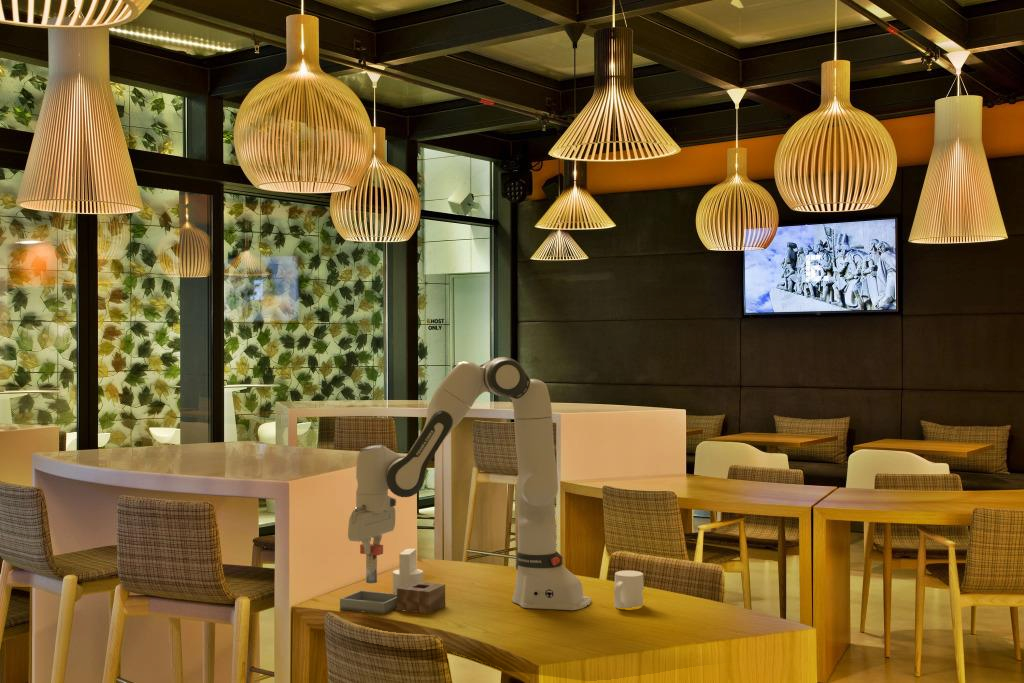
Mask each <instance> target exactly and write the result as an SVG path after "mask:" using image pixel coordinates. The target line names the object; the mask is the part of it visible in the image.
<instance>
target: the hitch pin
mask: <svg viewBox="0 0 1024 683" xmlns="http://www.w3.org/2000/svg"><path fill="white" fill-rule="evenodd" d="M370 545H371V547H372V553H370V554H365V553H364V546H363V544H362V543H360V546H359V549H360V550H359V551H360V554H362V555H366V556H365V559H366V560H365V561H366V562H365V563H366V564H365V565H366V566H365V567H366V568H365V582H366V584H377V582H378V556H381V555H383V554H384V545H383V544H380V545H379V544H373V543H370Z"/></svg>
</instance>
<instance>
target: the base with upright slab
mask: <svg viewBox="0 0 1024 683" xmlns="http://www.w3.org/2000/svg"><path fill="white" fill-rule="evenodd" d="M398 555H399V557H398V559H399V563H398V565H399V566H398V569H395V570H392V593H393V592H394V593H396V594H397V588H399V587H402V586H404V585H406V584H409V583H411V582H413V581H417V582H424V570H422V569H420V568H417V548H405V549H404V550H403V551H402V552H400V553H399V554H398ZM394 593H393V594H394Z"/></svg>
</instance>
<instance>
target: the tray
mask: <svg viewBox="0 0 1024 683" xmlns="http://www.w3.org/2000/svg"><path fill="white" fill-rule="evenodd" d="M396 608H397V594H394V593H389V592H381V591H373V590H372V591H369V590H358V591H356V592H353V593H350V594H348V595H346V596H343V597H340V598H339V610H342V611H349V610H352V611H351V612H358V611H364V612H363V613H367V612H371V613H370V614H375V613H379V614H378V615H386V614H387V613H390V612H393V611H394V610H397V609H396Z"/></svg>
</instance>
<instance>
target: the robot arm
mask: <svg viewBox="0 0 1024 683" xmlns="http://www.w3.org/2000/svg"><path fill="white" fill-rule="evenodd" d="M485 392H486V393H489V394H492V395H496V396H498V397H507V398H509V399H510V401H511V403H512V407H513V420H514V422H513V423H514V437H515V438H514V441H515V450H516V463H517V473H518V474H517V477H516V511H517V551H516V556H515V566H516V570H517V571H516V579H515V580H516V581H515V587H514V591H513V592H514V593H513V595H512V601H511V602H513V603H515V604H516V605H519V606H520V607H521V608H523V609H538V610H539V609H542V610H543V609H544V610H560V611H562V610H563V611H577V610H581V609H584V608H586V607H587V605H588V606H589V605H590V604H591V603H590V602H592V600H591V597H590V596H587V595H584V591H583V584H582V582H581V580H580V579H579V577H577V576H576V575H575V574H573V573H572V572H571V571H570V570H568V568H566V567H565V566H564V565H563V559H565V554H563V553H562V554H560V553H559V552H558V551H557V521H556V520H557V519H556V504H555V499H556V497H557V495H558V492H559V482H558V472H557V468H558V467H557V461H556V451H555V443H554V427H553V425H554V424H553V412H552V403H551V398H550V397H551V396H550V393H549V392H550V391H549V390H548V386H547V384H546V383H545V382H544V381H542V380H540V379H538V378H530V377H529V376H528V374H527V373H526V371H525V369H524V368H523V366H522V365H521V364H520V363H519V362H518V361H517V360H516V359H513V358H510V357H506V356H500V357H495V358H494V359H490V360H488V361H487V362H485V363H483V364H480V365H478V364H476V363H474V362H472V361H469V360H468V361H467V360H462V361H459V362H458V363H457V364H456V365H455V366H454V367H453V368H452V369H451V370H450V371H449V372H448V374H446V376H445V377H444V378H443V380H442V381H441V382H440V384H439V385H438V387H437V388H436V390H434V393H433V395H432V397H431V399H430V401H429V403H428V406H427V411H426V420H425V424H424V426H423V429H422V431H421V432H420V434H419V435H418V437H417V439H416V440H415V442H414V443H413V445H412V447H411V448H410V450H409V451H408V452H407V454H406V455H403V454H399V453H397V452H395V451H393V450H391V449H389V448H388V447H386V445H385V444H374V445H370V446H365V447H363V448H362V449H361V450H360V451H359V452H358V454H357V458H356V459H357V460H356V467H355V468H356V470H355V471H356V472H355V473H356V477H355V478H356V481H357V486H356V491H355V493H356V494H355V498H356V499H355V502H356V503H355V504H356V505H355V507H354V508H353V510H352V512H351V515H350V516H349V520H348V527H347V528H348V530H347V538H348V540H349V541H350V542H361V544H363V546H364V553H365V554H364V555H366V554H370V553H372V547H371V545H370V544H371V543H370V542H372V544H379V545H381V542H382V539H383V538H382V537H383V536H382V535H384V534H387V533H391V532H393V531H394V529H395V527H396V508H395V507H396V506H397V498H394V497H392V496H390V495H389V493H388V492H389V490H390V492H391V493H392V494H394V495H396V497H400V498H410V497H412V496H414V495H415V496H416V494H418V492H420V491H421V489H422V488H423V485H424V481H425V478H426V477H425V476H426V471H427V467H428V465H429V464H430V462H432V459H433V457H435V454H436V453H437V451H438V450H439V448H440V447H441V445H442V443H443V442H444V441H445V439H446V437H447V436H448V435H449V434H450V433H451V432H452V431H453V430H454V429H455V428H456V427H457V426H458V425H459V423H461V421H462V420H463V419H464V418H465V417H466V415H467V414H468V413H469V411H470V410H471V408H472V407H473V405H474V403H475V402H476V400H477V399H478V398H479V396H481V395H482V394H483V393H485ZM372 538H373V540H372Z"/></svg>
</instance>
